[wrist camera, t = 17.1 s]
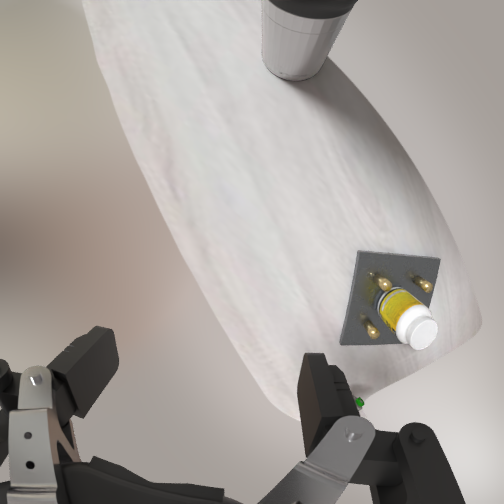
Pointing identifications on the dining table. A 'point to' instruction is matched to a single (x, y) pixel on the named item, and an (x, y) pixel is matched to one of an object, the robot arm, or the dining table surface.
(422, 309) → the pill bottle
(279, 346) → the dining table surface
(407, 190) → the dining table surface
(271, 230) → the dining table surface
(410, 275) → the plate
